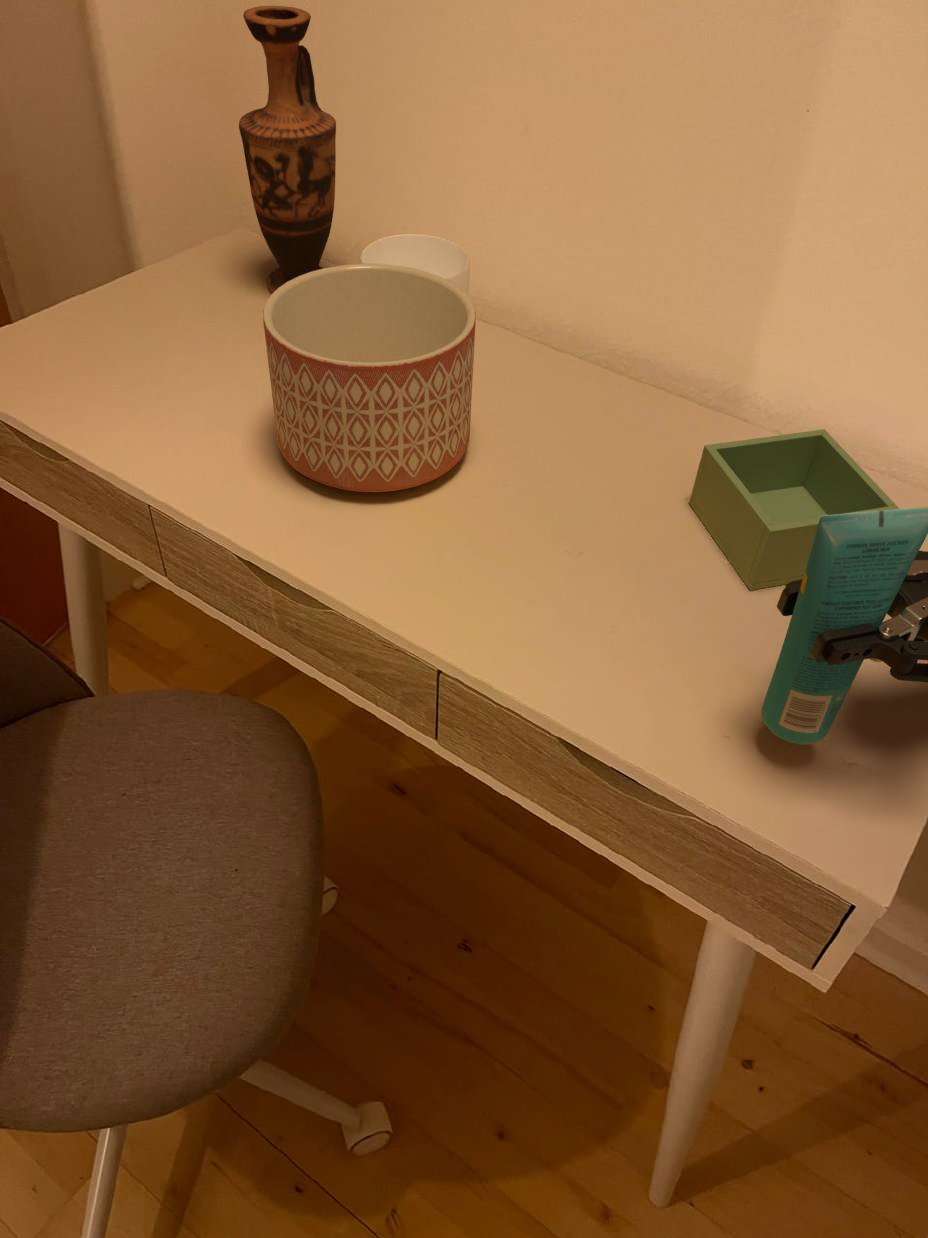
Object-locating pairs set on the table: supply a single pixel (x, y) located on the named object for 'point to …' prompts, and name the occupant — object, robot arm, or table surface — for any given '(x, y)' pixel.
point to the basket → (777, 500)
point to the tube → (838, 612)
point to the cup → (422, 256)
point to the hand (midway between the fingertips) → (800, 624)
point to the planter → (371, 375)
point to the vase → (289, 148)
